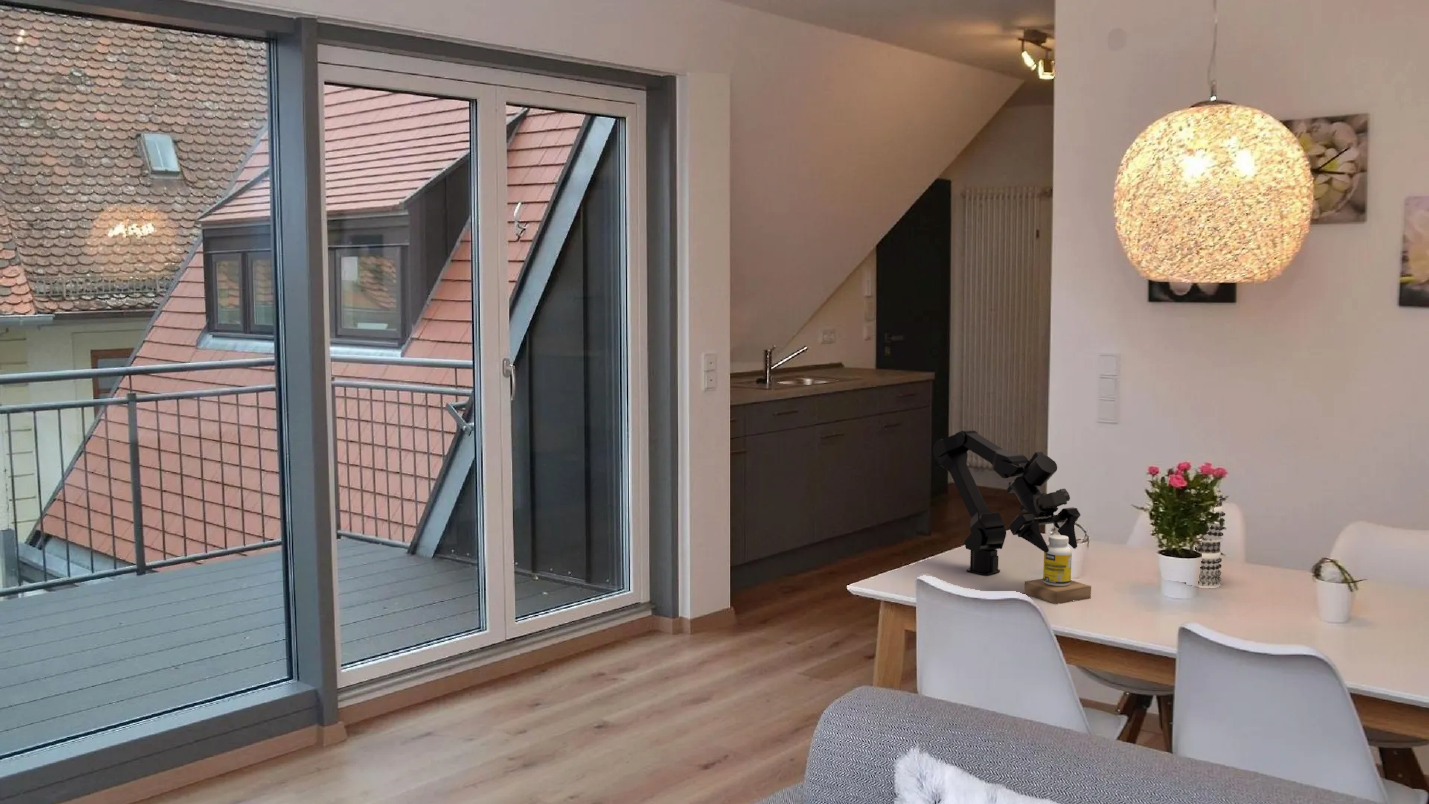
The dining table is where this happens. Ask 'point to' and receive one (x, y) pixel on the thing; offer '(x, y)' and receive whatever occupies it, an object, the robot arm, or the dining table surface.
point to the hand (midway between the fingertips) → (1061, 549)
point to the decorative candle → (1211, 551)
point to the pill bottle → (1057, 561)
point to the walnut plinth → (1057, 591)
